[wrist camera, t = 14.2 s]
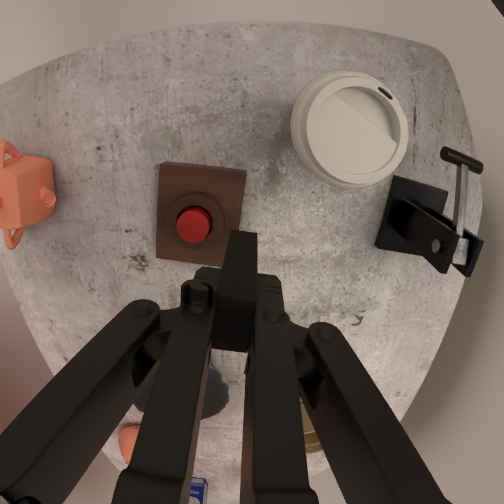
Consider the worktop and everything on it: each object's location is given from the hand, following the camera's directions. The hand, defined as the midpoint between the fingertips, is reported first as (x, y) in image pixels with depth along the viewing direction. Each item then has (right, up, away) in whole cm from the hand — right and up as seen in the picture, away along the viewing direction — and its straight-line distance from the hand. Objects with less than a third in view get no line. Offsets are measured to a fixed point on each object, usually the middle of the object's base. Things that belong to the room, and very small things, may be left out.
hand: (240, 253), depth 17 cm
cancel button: (-6, +3, +16) cm, 18 cm away
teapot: (-31, +10, +18) cm, 37 cm away
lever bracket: (+23, +5, +20) cm, 30 cm away
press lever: (+23, +5, +10) cm, 26 cm away
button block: (-6, +5, +20) cm, 21 cm away
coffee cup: (+8, +15, +15) cm, 23 cm away
